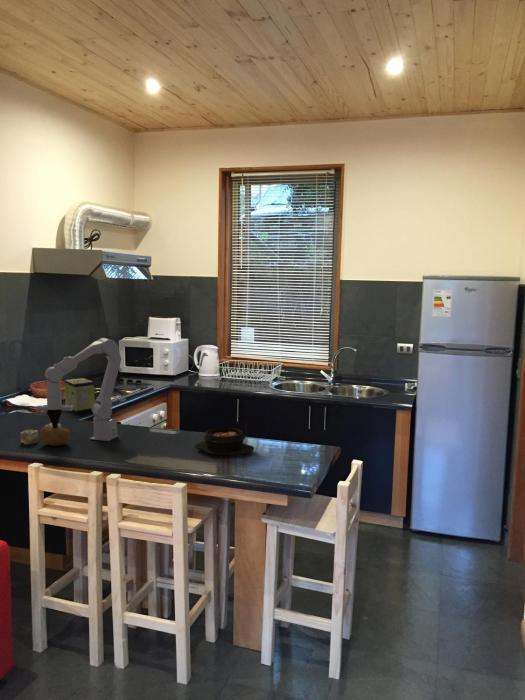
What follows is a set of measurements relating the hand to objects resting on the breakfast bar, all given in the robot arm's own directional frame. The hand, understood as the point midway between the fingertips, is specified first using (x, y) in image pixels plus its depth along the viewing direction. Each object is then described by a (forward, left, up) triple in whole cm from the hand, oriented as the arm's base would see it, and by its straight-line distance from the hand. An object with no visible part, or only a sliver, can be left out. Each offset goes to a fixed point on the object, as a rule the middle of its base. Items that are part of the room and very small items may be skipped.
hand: (55, 427), depth 239 cm
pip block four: (+13, 0, -8) cm, 15 cm away
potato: (0, 0, -8) cm, 8 cm away
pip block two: (+10, -12, -8) cm, 17 cm away
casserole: (-71, -12, -8) cm, 73 cm away
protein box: (+27, -59, -8) cm, 65 cm away
